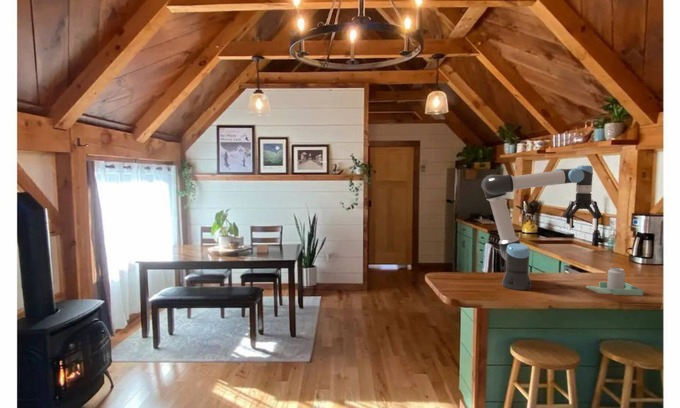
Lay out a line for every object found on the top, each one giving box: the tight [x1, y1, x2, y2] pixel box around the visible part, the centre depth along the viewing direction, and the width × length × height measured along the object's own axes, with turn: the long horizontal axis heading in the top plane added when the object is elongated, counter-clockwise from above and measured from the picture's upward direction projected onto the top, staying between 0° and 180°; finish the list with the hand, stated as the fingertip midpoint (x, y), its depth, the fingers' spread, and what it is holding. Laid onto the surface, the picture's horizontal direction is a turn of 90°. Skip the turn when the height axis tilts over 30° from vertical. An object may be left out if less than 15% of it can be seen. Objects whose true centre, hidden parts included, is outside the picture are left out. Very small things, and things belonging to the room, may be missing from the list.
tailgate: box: [585, 285, 611, 295], centre depth 208 cm, size 1×11×6 cm
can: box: [606, 267, 626, 291], centre depth 206 cm, size 8×8×12 cm
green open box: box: [598, 281, 644, 296], centre depth 207 cm, size 14×14×4 cm
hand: (581, 229), depth 219 cm, fingers open, 13 cm apart
